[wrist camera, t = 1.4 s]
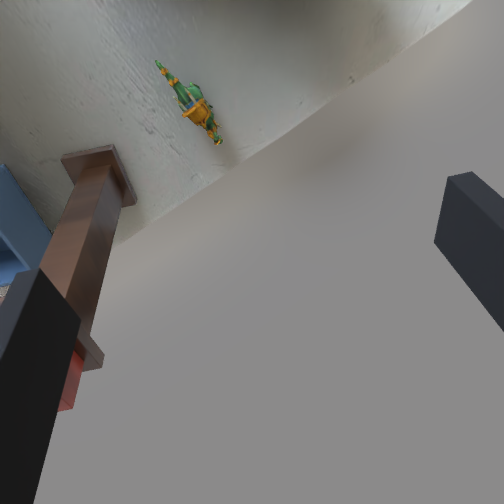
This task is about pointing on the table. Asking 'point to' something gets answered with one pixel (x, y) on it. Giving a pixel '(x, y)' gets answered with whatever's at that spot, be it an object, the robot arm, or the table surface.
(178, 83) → the figurine
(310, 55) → the table surface
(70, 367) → the mallet
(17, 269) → the tub
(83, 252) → the stand
